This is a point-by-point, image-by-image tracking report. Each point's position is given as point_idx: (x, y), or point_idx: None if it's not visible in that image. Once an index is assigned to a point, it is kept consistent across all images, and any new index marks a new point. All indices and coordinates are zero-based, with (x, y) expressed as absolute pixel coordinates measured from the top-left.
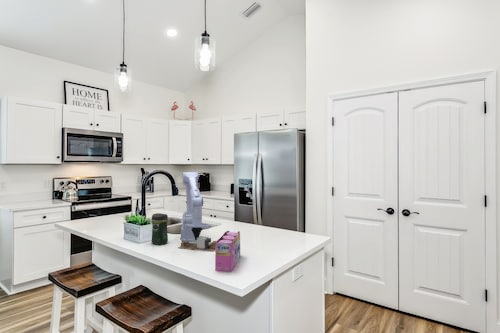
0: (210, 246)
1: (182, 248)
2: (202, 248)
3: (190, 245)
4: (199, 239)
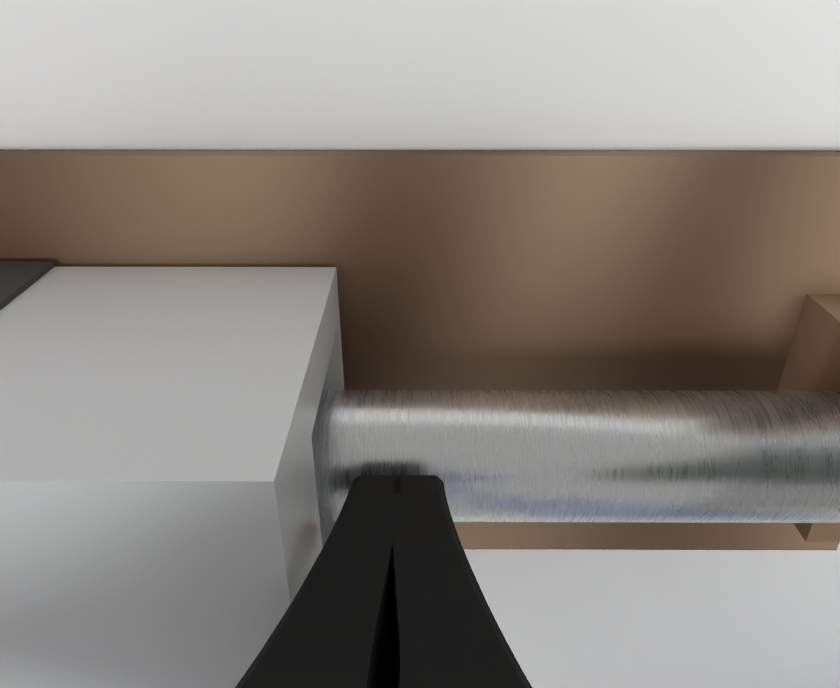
0: None
1: (818, 153)
2: None
3: None
4: (136, 442)
